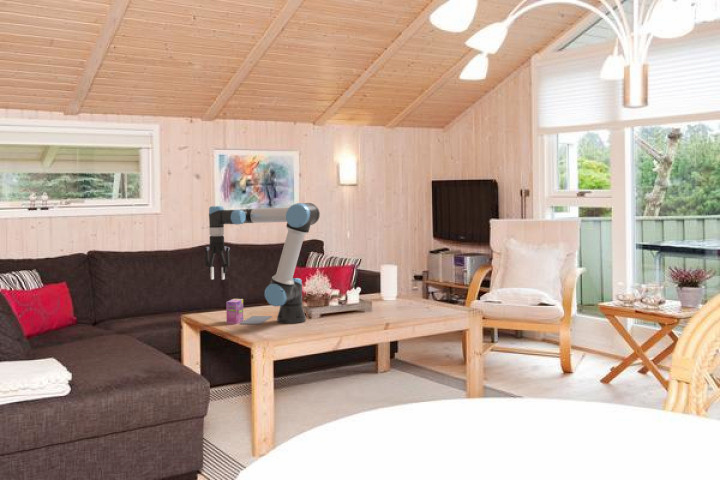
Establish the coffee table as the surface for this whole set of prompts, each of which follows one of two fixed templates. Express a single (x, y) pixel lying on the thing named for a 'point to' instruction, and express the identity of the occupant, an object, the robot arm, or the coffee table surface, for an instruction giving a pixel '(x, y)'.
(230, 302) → the box
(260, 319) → the felt mat
